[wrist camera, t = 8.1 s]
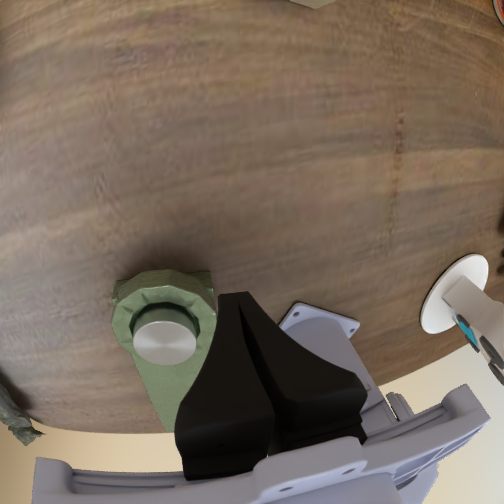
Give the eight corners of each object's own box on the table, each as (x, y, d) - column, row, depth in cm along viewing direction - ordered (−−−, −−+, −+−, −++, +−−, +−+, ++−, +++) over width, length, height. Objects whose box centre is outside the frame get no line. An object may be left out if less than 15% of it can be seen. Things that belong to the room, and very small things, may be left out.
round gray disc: (198, 343, 21) (200, 362, 19) (142, 348, 20) (141, 368, 19) (191, 298, 19) (192, 317, 17) (128, 305, 18) (125, 324, 17)
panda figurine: (406, 305, 29) (489, 414, 17) (477, 231, 27) (576, 316, 14) (433, 343, 35) (493, 425, 22) (491, 284, 33) (559, 356, 20)
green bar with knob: (226, 409, 32) (232, 438, 29) (165, 415, 31) (167, 445, 27) (208, 246, 21) (214, 280, 18) (109, 257, 20) (98, 292, 17)
